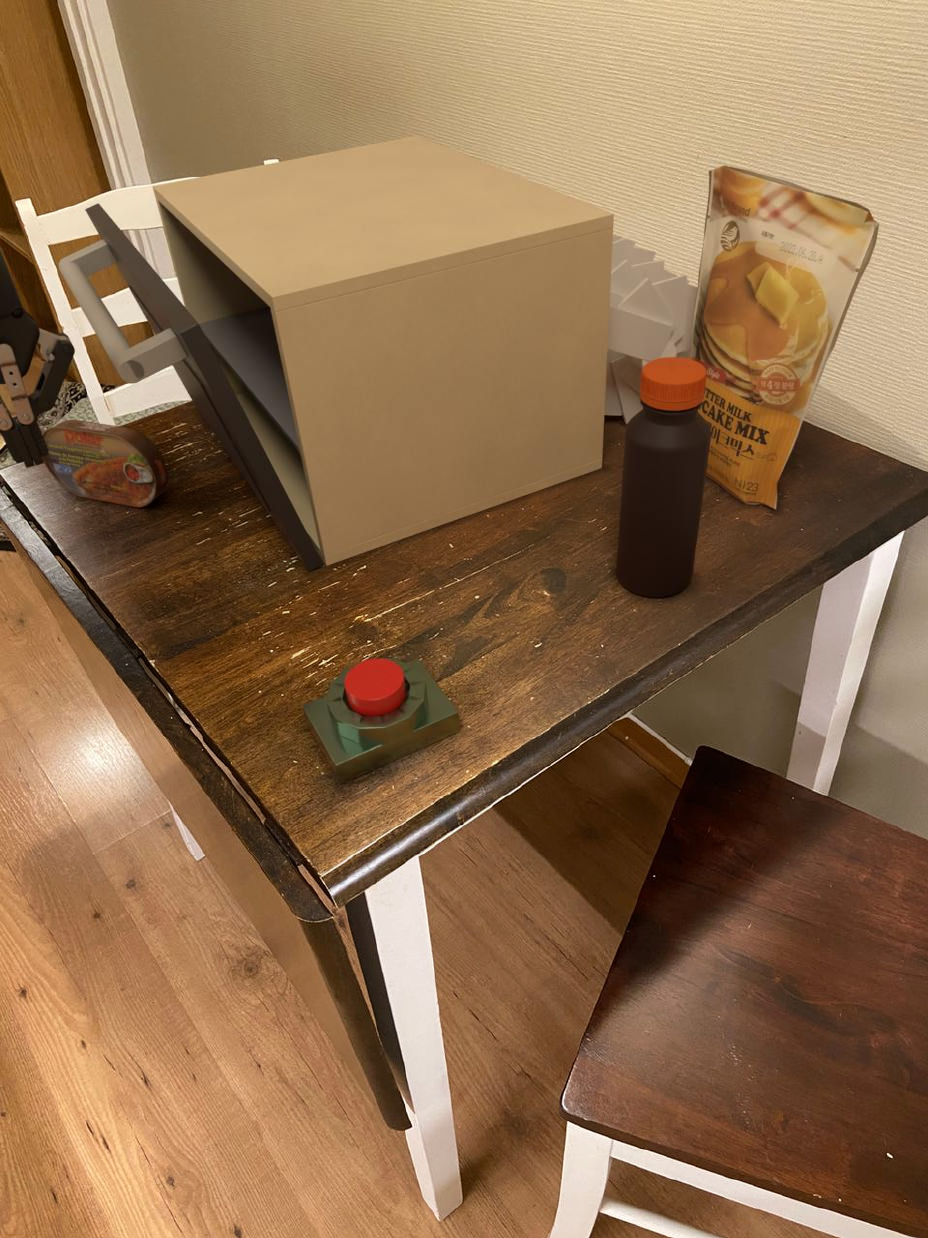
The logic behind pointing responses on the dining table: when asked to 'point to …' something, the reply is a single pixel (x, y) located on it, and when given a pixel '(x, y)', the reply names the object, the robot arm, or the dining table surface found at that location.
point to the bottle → (663, 479)
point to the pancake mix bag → (769, 316)
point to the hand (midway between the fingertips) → (33, 461)
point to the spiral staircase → (643, 322)
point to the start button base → (380, 724)
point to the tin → (105, 462)
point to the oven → (400, 330)
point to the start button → (375, 687)
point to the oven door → (179, 364)
